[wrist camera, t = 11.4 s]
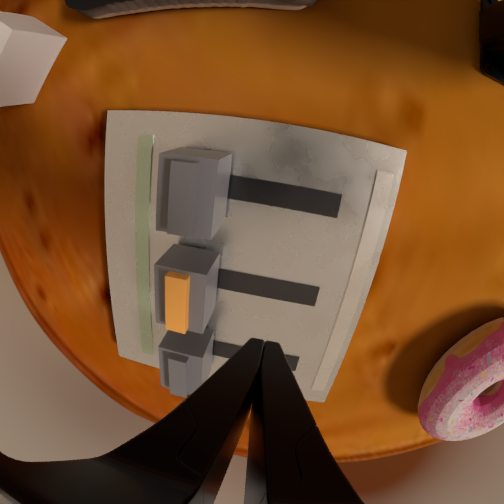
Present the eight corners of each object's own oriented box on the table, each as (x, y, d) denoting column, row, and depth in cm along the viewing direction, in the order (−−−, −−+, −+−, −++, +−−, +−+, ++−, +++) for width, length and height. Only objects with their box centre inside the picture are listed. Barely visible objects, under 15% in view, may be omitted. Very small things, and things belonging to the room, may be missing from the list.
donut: (423, 429, 26) (431, 465, 22) (397, 352, 23) (410, 397, 18) (527, 375, 22) (544, 406, 18) (530, 281, 19) (560, 313, 14)
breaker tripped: (220, 252, 19) (203, 280, 16) (215, 306, 21) (199, 340, 18) (173, 243, 20) (149, 269, 16) (172, 297, 21) (151, 328, 18)
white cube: (4, 75, 18) (-46, 79, 13) (33, 16, 16) (-17, 9, 10) (34, 103, 19) (-21, 110, 13) (68, 38, 17) (12, 29, 11)
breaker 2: (214, 330, 22) (200, 364, 19) (211, 369, 23) (198, 403, 20) (173, 320, 22) (154, 352, 19) (174, 360, 24) (158, 391, 20)
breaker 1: (232, 153, 17) (215, 161, 14) (224, 221, 18) (207, 244, 15) (181, 147, 17) (153, 154, 14) (176, 213, 19) (150, 234, 15)
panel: (399, 148, 17) (407, 151, 15) (323, 389, 25) (324, 403, 24) (119, 109, 18) (106, 110, 17) (126, 345, 27) (118, 356, 25)
